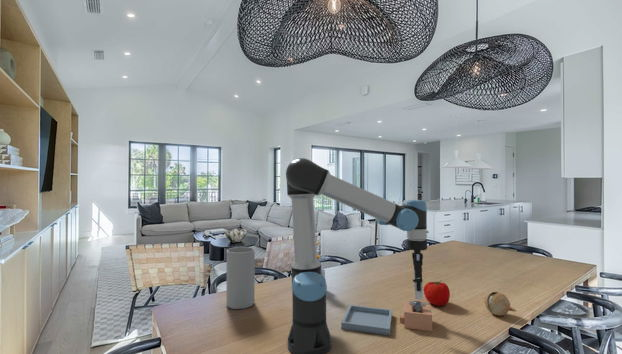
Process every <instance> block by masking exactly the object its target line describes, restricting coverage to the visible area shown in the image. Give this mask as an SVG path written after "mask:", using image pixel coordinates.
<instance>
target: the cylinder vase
mask: <svg viewBox="0 0 622 354" xmlns="http://www.w3.org/2000/svg"><path fill="white" fill-rule="evenodd" d="M225 303H226V306H227V308H229V309H233V310H245V309H247V308H250V307H252V306H253V305H254V303H255V248H254V247H251V246H250V247H249V246H235V247H231V248H227V249H226V302H225Z"/></svg>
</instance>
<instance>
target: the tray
mask: <svg viewBox="0 0 622 354" xmlns="http://www.w3.org/2000/svg"><path fill="white" fill-rule="evenodd" d="M392 320H393V309H389V308H381V307H380V308H379V307H373V306H364V305H355V304H354V305H353V304H349V305H348V308H347V309H346V312H345V314H344V316H343V318H342V320H341V322H340V325H341V327H340V329H341V330H345V331H346V330H348V331H354V332H361V333H367V334H368V333H370V334H376V335H384V336H391V331H392V330H391V329H392Z"/></svg>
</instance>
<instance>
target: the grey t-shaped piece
mask: <svg viewBox="0 0 622 354" xmlns="http://www.w3.org/2000/svg"><path fill="white" fill-rule="evenodd" d="M409 303H410V305H412V306H414V312H418V313H421V307H426V305H427V304H426V302H425V301H424V302H423V301H420V300H409Z"/></svg>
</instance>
